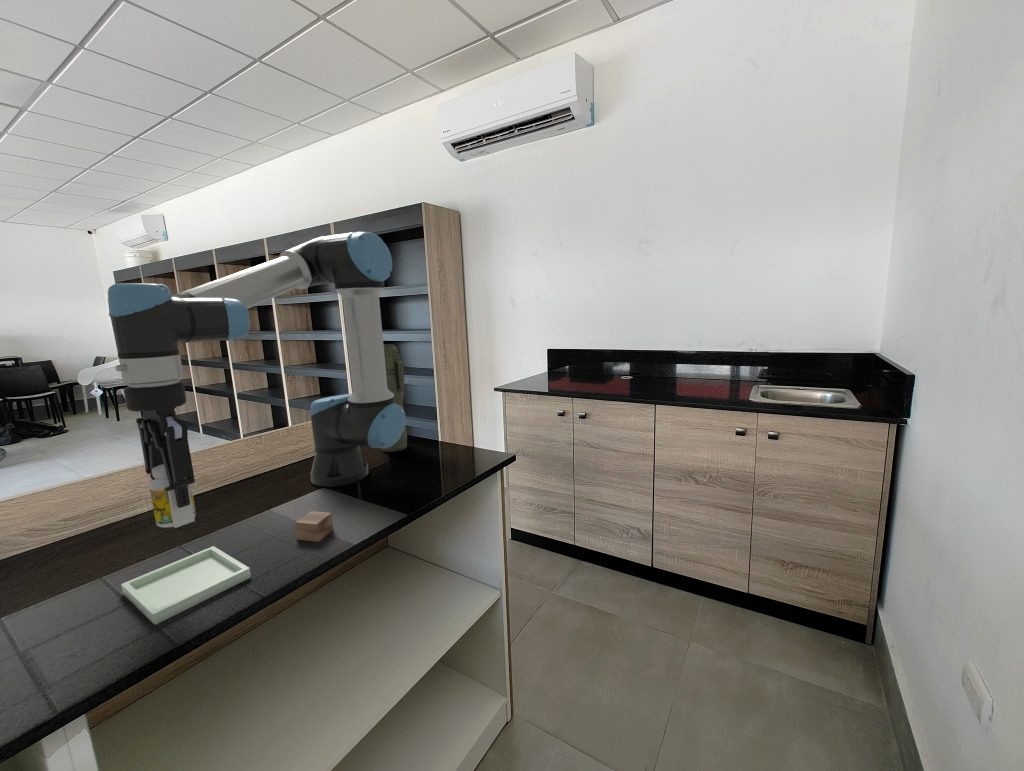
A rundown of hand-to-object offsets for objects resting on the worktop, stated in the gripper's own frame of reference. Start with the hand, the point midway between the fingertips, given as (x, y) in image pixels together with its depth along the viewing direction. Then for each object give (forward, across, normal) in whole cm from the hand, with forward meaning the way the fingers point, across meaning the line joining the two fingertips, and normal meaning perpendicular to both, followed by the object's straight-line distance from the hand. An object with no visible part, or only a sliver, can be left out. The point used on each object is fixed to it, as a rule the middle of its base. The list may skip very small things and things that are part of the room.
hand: (176, 519), depth 74 cm
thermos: (+12, -28, +71) cm, 77 cm away
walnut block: (+13, +3, +22) cm, 26 cm away
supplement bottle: (+1, 0, 0) cm, 1 cm away
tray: (+12, 0, 0) cm, 12 cm away
